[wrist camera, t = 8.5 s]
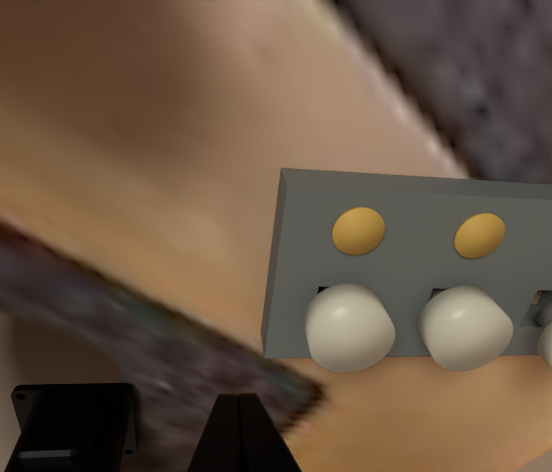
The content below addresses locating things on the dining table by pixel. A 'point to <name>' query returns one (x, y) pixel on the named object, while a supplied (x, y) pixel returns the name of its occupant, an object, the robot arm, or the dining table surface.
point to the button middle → (463, 327)
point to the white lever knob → (545, 334)
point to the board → (406, 250)
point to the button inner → (347, 328)
